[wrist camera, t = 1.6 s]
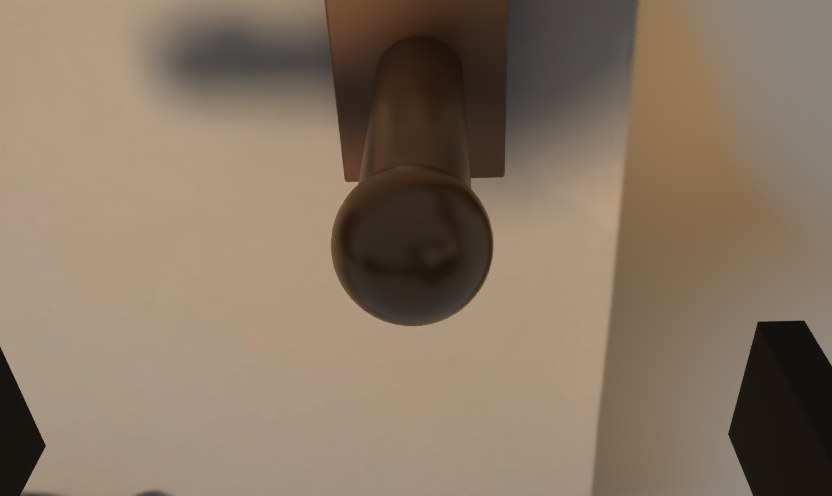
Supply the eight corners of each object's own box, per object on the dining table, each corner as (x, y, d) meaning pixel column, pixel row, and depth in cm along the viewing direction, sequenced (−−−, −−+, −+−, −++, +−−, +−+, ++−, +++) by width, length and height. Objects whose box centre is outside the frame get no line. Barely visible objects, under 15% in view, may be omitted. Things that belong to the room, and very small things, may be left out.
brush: (333, -72, 26) (241, 130, 14) (500, -79, 26) (559, 119, 14) (354, 132, 31) (298, 426, 18) (497, 127, 31) (540, 422, 18)
